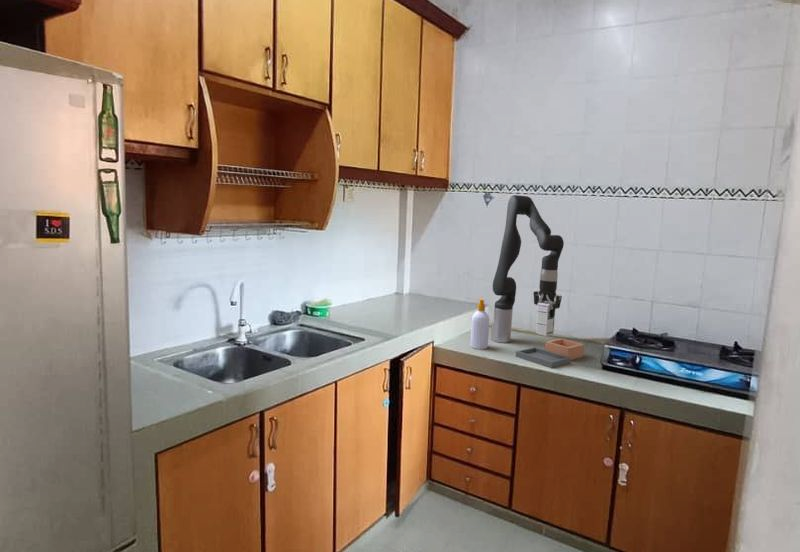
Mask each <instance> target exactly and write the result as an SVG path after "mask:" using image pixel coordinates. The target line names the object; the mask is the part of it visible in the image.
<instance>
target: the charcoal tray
mask: <svg viewBox="0 0 800 552" xmlns="http://www.w3.org/2000/svg"><path fill="white" fill-rule="evenodd" d="M518 357H519V359H521V358H522V360H524V359H525V361H529V362H531V363H534V364H537V365H540V364H541V365H540V366H544V367H547V368H550V369H554V368H557V366H558V367H560V365H561V366H564V364H565V365H569V364H571V361H572V360H571V357H567V356H564V355H560V354H557V353H554V352H550V351H547V350H545V349H543V348H539V347H537V346H536V347H535V346H533V347H528V348H524V349H520V350H519V349H518V350H516V351H515V358H518ZM568 363H569V364H568Z"/></svg>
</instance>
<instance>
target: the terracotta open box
mask: <svg viewBox="0 0 800 552" xmlns="http://www.w3.org/2000/svg"><path fill="white" fill-rule="evenodd" d="M584 347H585V344H583V343H580V342H576V341H573V340H569V339H565V338H558V339H553V340H548V341H546V342H545V349H544V350H547V351H550V352H554V353H557V354H560V355H564V356H567V357H571V361H573V360H575V359H579V358H583V357H584Z"/></svg>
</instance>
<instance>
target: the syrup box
mask: <svg viewBox="0 0 800 552" xmlns="http://www.w3.org/2000/svg"><path fill="white" fill-rule="evenodd" d="M536 306H537V305H536ZM536 309H537V310H536V325H535V334H537V335H540V336H544V337H549V336H552V335H554V330H555V316H556V315H555V316H554V317H552V318H551V317H550V309H551V308H550V305H549V303H548V302H546V301H545V302H543V303H538V306H537V308H536Z"/></svg>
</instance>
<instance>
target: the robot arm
mask: <svg viewBox="0 0 800 552" xmlns="http://www.w3.org/2000/svg"><path fill="white" fill-rule="evenodd" d="M506 208H507V209H506V216H505V217H506V218H505V219H506V220H505V227H504V232H503V238H502V241H501V247H500V255H499V258H498V263H497V267H496V270H495V274H494V278H493V281H492V292H493V293H494V294H495V296H500V298H499V299H498V300H496V301H495V302H494V309H493V321H492V322H491V332H490V333H491V334H490V340H492V341H493V342H497V343H504V344H505V343H511V338H512V337H511V336H512V324H513V323H512V322H513V308H514V304H515V301H516V294H517V284H516V283H517V282H516V281H515V279H514V278H513V277H511V276H508V274H509V271H510V269H511V267H512V266H513V264H514V263H515V262H516V260H517V259H518V257H519V256H520V251H521V247H522V239H521V235H520V232H519V230H518V227H517V217H518V215H521V216H526V217H528V218H529V228H530V230H531V232H532V233H533V234H534V236H535V237H536V239H537V243H538V246H539V248H540V249H541V250H542V251H547V252H548V251H550V253H549V254H548V255H544V256H543V257H542V259H541V269H540V272H539V273H540V275H539V288H538V289H539V290H536V291H533V304H534V305H536V306H538V303H543V302H548V303H549V305H550V308H551V309H550V317H551V318H552V317H554V316H556V310H557V309H560V307H561V303H562V297H563V296H562V295H558V294H557V288H558V277H559V275H558V274H559V273H558V271H559V269H558V267H559V260H560V258H561V254H562V252H563V250H564V249H563V248H564V245H565V244H564V241H565V240H564V239H563V237H562V235H559V234H558V235H557V234H552V230H551V228H550V227H549V225H548V224H547V223H546V222H545V220H543V217H542V216H541V215H540V212H539V210H538V208H537V206H536V205H535V203H534V201H533V199H532V198H531V197H530V196H527V195H515V194H514V195H511V196H510V198H509V199H508V203H507V207H506ZM554 318H555V317H554Z"/></svg>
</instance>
